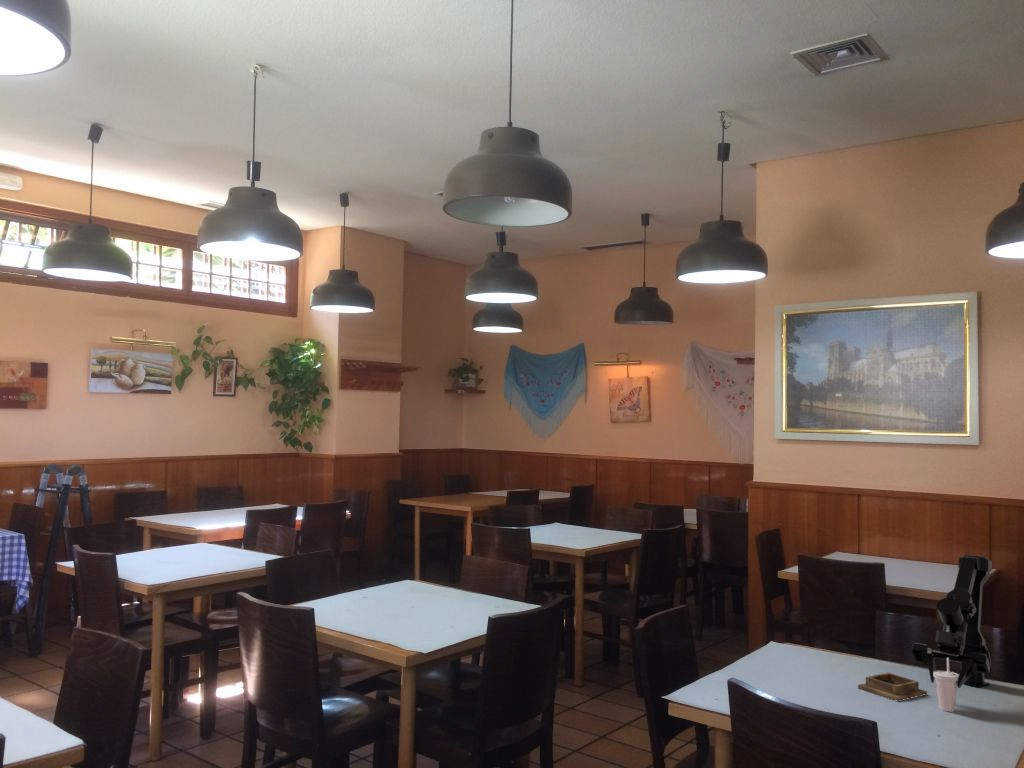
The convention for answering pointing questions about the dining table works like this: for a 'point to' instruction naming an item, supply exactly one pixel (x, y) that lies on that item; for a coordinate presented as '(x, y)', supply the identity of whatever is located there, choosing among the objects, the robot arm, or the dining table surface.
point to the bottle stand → (892, 686)
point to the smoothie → (946, 688)
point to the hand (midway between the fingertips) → (945, 684)
